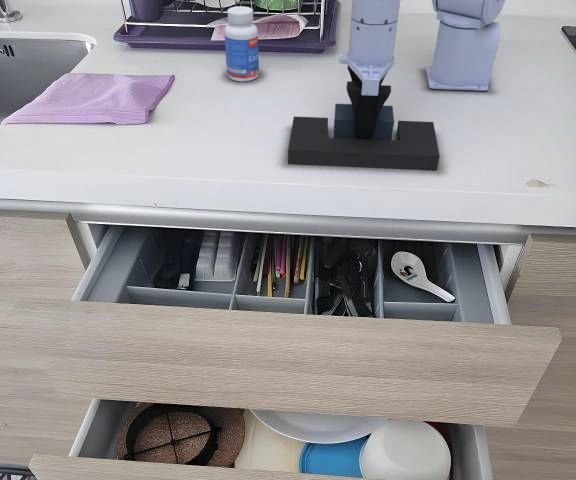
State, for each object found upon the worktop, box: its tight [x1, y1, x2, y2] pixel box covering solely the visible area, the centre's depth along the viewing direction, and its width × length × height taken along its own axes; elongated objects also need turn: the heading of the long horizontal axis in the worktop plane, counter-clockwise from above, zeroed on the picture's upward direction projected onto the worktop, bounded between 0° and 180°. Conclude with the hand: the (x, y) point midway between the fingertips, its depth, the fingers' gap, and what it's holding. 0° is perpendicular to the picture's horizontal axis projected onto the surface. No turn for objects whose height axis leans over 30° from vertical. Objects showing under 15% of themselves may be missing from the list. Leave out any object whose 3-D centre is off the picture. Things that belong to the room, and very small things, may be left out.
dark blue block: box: [332, 103, 395, 140], centre depth 81 cm, size 8×5×4 cm, turn 85°
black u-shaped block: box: [287, 115, 440, 171], centre depth 81 cm, size 20×10×2 cm, turn 85°
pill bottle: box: [223, 5, 260, 82], centre depth 95 cm, size 6×5×10 cm
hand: (363, 127), depth 81 cm, fingers closed on dark blue block, 5 cm apart
